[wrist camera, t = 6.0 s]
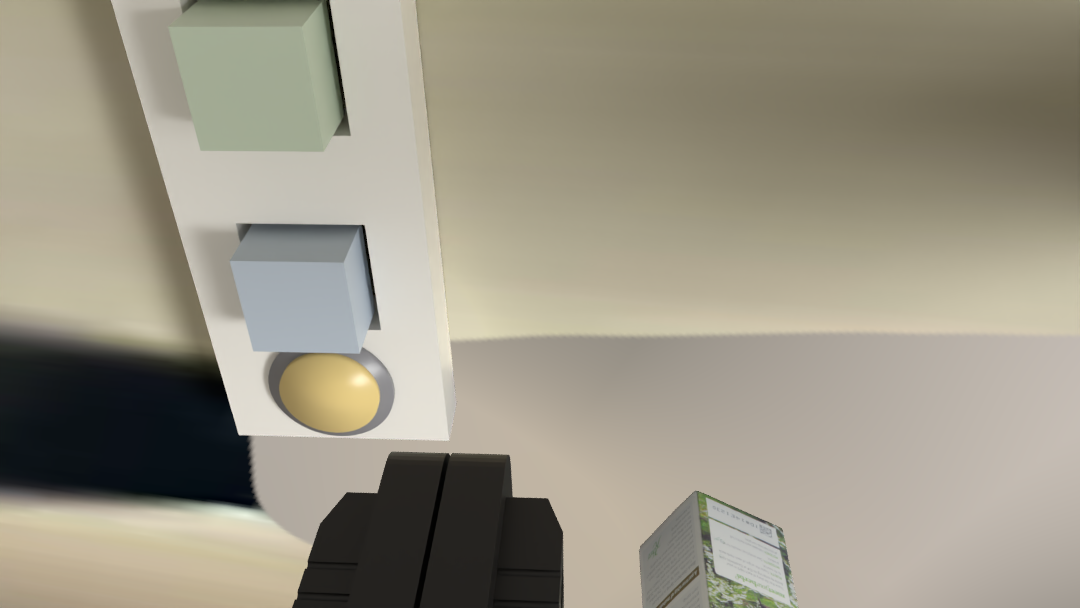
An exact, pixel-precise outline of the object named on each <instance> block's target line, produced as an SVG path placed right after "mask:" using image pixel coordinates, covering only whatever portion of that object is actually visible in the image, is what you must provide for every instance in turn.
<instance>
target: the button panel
mask: <svg viewBox="0 0 1080 608" xmlns="http://www.w3.org/2000/svg"><path fill="white" fill-rule="evenodd" d="M197 1H198V0H111V3H112V6H113V9H114V13H115V16H116V20H117V23H118V26H119V30H120V33H121V37H122V40H123V43H124V47H125V50H126V54H127V57H128V60H129V64H130V67H131V70H132V74H133V77H134V81H135V84H136V87H137V91H138V94H139V98H140V101H141V104H142V108H143V111H144V115H145V118H146V121H147V125H148V128H149V132H150V135H151V138H152V142H153V145H154V148H155V152H156V155H157V159H158V162H159V165H160V169H161V172H162V176H163V179H164V182H165V186H166V189H167V193H168V196H169V199H170V203H171V206H172V210H173V213H174V216H175V220H176V223H177V226H178V230H179V233H180V237H181V240H182V243H183V247H184V250H185V254H186V257H187V260H188V264H189V267H190V271H191V274H192V277H193V281H194V284H195V288H196V291H197V294H198V298H199V301H200V305H201V308H202V311H203V315H204V318H205V321H206V325H207V328H208V332H209V335H210V338H211V342H212V345H213V349H214V352H215V355H216V359H217V362H218V366H219V369H220V372H221V376H222V379H223V383H224V386H225V389H226V393H227V396H228V399H229V403H230V406H231V410H232V413H233V416H234V420H235V423H236V427H237V430H238V433H239V435H260V436H297V437H333V438H370V439H406V440H444V441H449V439H450V434H451V429H452V424H453V419H454V414H455V409H456V396H455V385H454V375H453V365H452V356H451V346H450V336H449V326H448V316H447V306H446V296H445V287H444V277H443V267H442V257H441V247H440V237H439V228H438V218H437V208H436V198H435V188H434V178H433V168H432V159H431V149H430V139H429V129H428V119H427V109H426V100H425V90H424V80H423V70H422V60H421V50H420V41H419V31H418V21H417V11H416V1H415V0H330V6H331V12H332V18H333V25H334V31H335V38H336V44H337V50H338V57H339V63H340V70H341V76H342V83H343V89H344V95H345V102H346V108H343V111H344V117H343V119H342V121H341V122H340V124H339V126H338V128H337V129H336V131H335V133H334V135H333V137H332V138H331V140H330V142H329V144H328V145H327V147H326V149H325V151H324V152H299V151H201V150H200V147H199V143H198V139H197V135H196V131H195V128H194V124H193V120H192V116H191V112H190V109H189V105H188V101H187V97H186V93H185V90H184V86H183V82H182V78H181V74H180V71H179V67H178V63H177V59H176V55H175V52H174V48H173V44H172V40H171V36H170V32H169V29H168V26H169V25H171V24H172V23H173V22H174V21H175V20H176V19H177V18H179V17H180V16H181V15H182V14H183V13H184V12H185V11H187V10H188V9H189V8H190V7H191V6H192V5H194V4H195V3H196V2H197ZM252 224H331V225H365V230H366V236H367V243H368V249H369V256H370V262H371V268H372V275H373V281H374V288H375V294H376V296H373V300H374V306H375V312H374V314H373V317H372V320H371V323H370V326H369V329H368V331H367V334H366V337H365V340H364V343H363V346H362V349H361V351H360V354H351V353H304V352H258V351H253V348H252V344H251V341H250V337H249V333H248V329H247V325H246V321H245V318H244V314H243V310H242V306H241V302H240V299H239V295H238V291H237V287H236V283H235V280H234V276H233V272H232V268H231V264H230V259H231V258H232V256H233V254H234V253H235V251H236V250H237V248H238V246H239V245H240V243H241V241H242V240H243V238H244V237H245V235H246V233H247V232H248V230H249V228H250V227H251V225H252Z"/></svg>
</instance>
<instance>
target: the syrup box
mask: <svg viewBox="0 0 1080 608" xmlns="http://www.w3.org/2000/svg"><path fill="white" fill-rule="evenodd" d="M639 552H640V570H641V571H640V572H641V585H642V603H643V608H798V604H797V598H796V593H795V588H794V583H793V579H792V574H791V569H790V564H789V560H788V555H787V549H786V544H785V540H784V535H783V530H782V528H780V527H778V526H776V525H773V524H771V523H769V522H767V521H764V520H762V519H760V518H758V517H755V516H753V515H751V514H748V513H746V512H744V511H742V510H739V509H737V508H735V507H733V506H730V505H728V504H726V503H724V502H722V501H719V500H717V499H715V498H713V497H711V496H709V495H706V494H704V493H701V492H699V491H695V492H694V493H692V494H691V495H690V496H689V497H688V498H687V499H686V500H685V501H684V502H683V503H682V504H681V505H680V506H679V507H678V508H677V509H676V510H675V511H674V512H673V513H672V514H671V515H670V516H669V517H668V518H667V519H666V520H665V521H664V522H663V523H662V524H661V525H660V526H659V527H658V528H657V530H656V531H655V532H654V533H653V534H652V535H651V536H650V537H649V538H648V539H647V540H646V541H645V542H644V544H642V545H641V546H640V551H639Z"/></svg>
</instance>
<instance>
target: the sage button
mask: <svg viewBox="0 0 1080 608" xmlns="http://www.w3.org/2000/svg"><path fill="white" fill-rule="evenodd" d="M168 29H169V32H170V36H171V40H172V44H173V48H174V52H175V55H176V59H177V63H178V67H179V71H180V74H181V78H182V82H183V86H184V90H185V93H186V97H187V101H188V105H189V109H190V112H191V116H192V120H193V124H194V128H195V131H196V135H197V139H198V143H199V147H200V150H201V151H299V152H324V151H325V149H326V147H327V145H328V144H329V142H330V140H331V138H332V137H333V135H334V133H335V131H336V129H337V128H338V126H339V124H340V122H341V121H342V119H343V117H344V111H343V104H342V98H341V92H340V85H339V79H338V73H337V66H336V60H335V54H334V47H333V41H332V35H331V29H330V22H329V16H328V10H327V3H326V0H198V1H197V2H196V3H195V4H194V5H192V6H191V7H190V8H189V9H188V10H187V11H185V12H184V13H183V14H182V15H181V16H180V17H179V18H177V19H176V20H175V21H174V22H173V23H172V24H171V25H169V26H168Z"/></svg>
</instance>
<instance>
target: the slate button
mask: <svg viewBox="0 0 1080 608" xmlns="http://www.w3.org/2000/svg"><path fill="white" fill-rule="evenodd" d="M230 264H231V268H232V272H233V276H234V280H235V283H236V287H237V291H238V295H239V299H240V302H241V306H242V310H243V314H244V318H245V321H246V325H247V329H248V333H249V337H250V341H251V344H252V348H253V351H258V352H304V353H351V354H360V351H361V349H362V346H363V343H364V340H365V337H366V334H367V331H368V329H369V326H370V323H371V320H372V317H373V314H374V312H375V306H374V300H373V294H372V287H371V281H370V275H369V269H368V262H367V256H366V250H365V243H364V237H363V231H362V225H331V224H252V225H251V227H250V228H249V230H248V232H247V233H246V235H245V237H244V238H243V240H242V241H241V243H240V245H239V246H238V248H237V250H236V251H235V253H234V254H233V256H232V258H231V259H230Z"/></svg>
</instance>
